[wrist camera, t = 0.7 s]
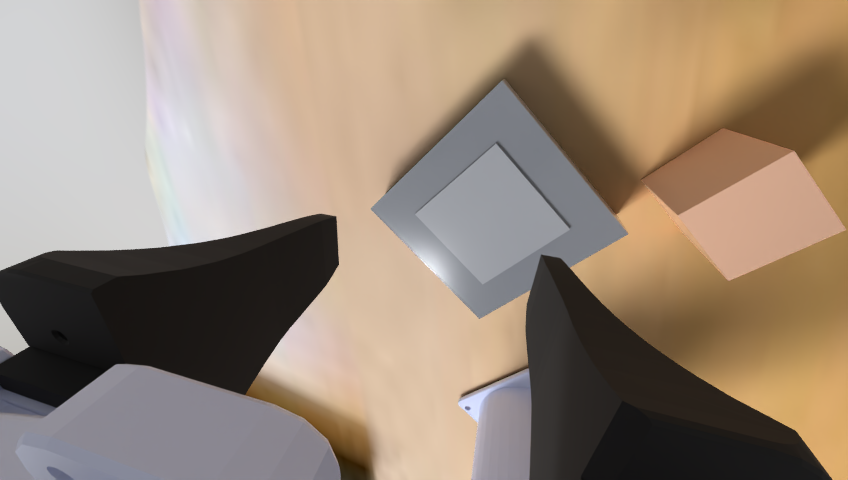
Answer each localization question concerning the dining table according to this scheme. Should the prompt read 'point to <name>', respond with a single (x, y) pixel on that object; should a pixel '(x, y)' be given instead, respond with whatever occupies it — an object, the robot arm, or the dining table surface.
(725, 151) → the terracotta block
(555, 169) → the slate plinth
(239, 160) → the dining table surface
